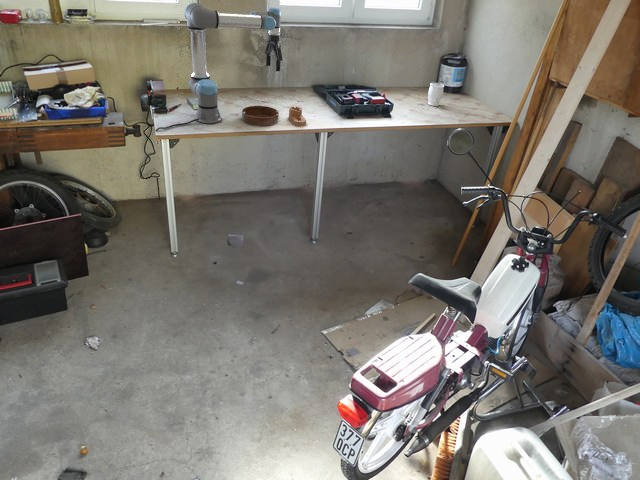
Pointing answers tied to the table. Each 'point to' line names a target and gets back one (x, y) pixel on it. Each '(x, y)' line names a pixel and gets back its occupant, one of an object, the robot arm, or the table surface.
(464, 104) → the table surface
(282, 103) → the table surface
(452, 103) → the table surface
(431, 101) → the jar
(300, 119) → the bracket
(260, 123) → the brown shallow bowl
